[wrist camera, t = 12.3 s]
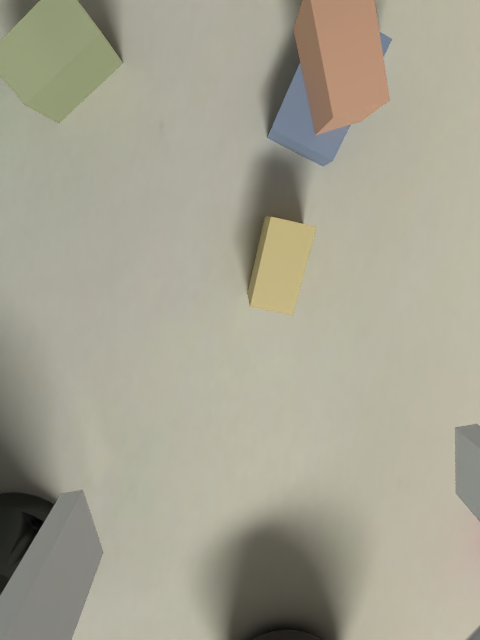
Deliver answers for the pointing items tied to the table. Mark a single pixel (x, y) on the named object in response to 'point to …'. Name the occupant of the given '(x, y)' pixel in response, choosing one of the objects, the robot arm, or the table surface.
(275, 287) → the brick ochre
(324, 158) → the brick slate
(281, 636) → the vase
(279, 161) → the table surface
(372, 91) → the brick terracotta
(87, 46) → the brick olive
